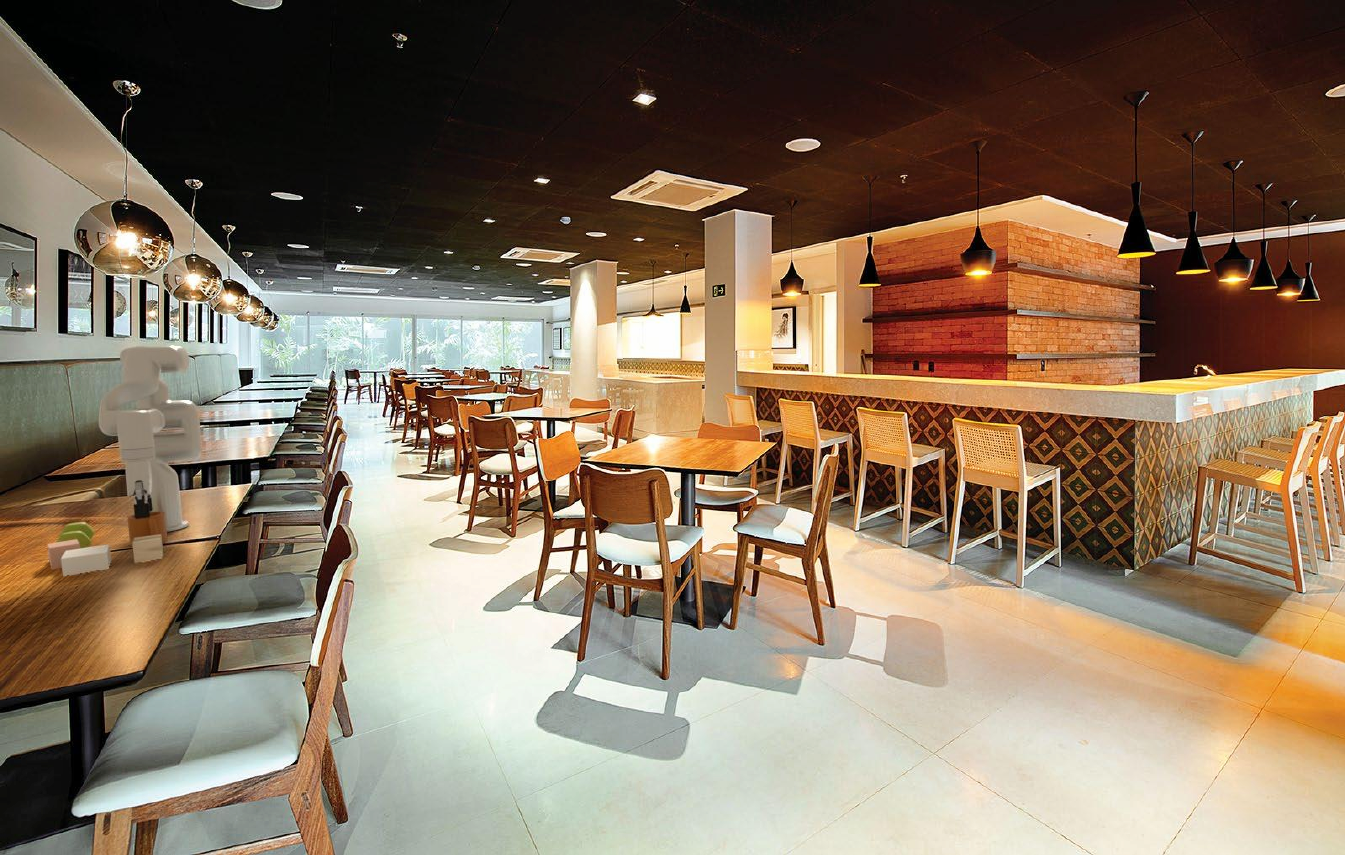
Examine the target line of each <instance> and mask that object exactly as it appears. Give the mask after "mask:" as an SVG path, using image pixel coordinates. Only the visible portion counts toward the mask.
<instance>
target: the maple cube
mask: <svg viewBox="0 0 1345 855" xmlns="http://www.w3.org/2000/svg"><path fill="white" fill-rule="evenodd" d="M132 545H133V547H132V551H133V561H134V564H135V563H136V562H142V561H146V560H155V561H157V560H156V559H161V558H162V556H163V557H164V548H163V546H164V545H163V543H162V537H161V534H159V535H152V536H145V537H137V538H134V540H133V543H132ZM162 559H163V558H162ZM142 563H143V562H142ZM136 564H137V563H136Z"/></svg>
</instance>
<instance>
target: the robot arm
mask: <svg viewBox="0 0 1345 855" xmlns="http://www.w3.org/2000/svg"><path fill="white" fill-rule="evenodd" d="M119 360H120V363H121V366H122V367H123V372H122V382H121V383H118V384H117V385H116V386H114V387H113V388H111V389H110V390H109V391H108V392H107V393H105V394H104V395H103V397H102V399H101V401H100V405H99V411H98V412H99V414H98V427H99V429H100V431H101V432H102V434H104V435H106V436H111V437H115V436H116V437H117V440H118V449H119V450H118V451H119V458H120V462H123V463H124V462H125V480H126V493H127V494H126V495H127V496H126V497H128V498H132V496H133V513H134V514H135V519H142V518H149V517H150V512H156V511H161V512H164V513H165V522H166V531H167V533H168V532H172V531H173V532H175V531H178V530H182V529H185V528H186V527H188V526H189V525H190V524H189V521H188V520H183V513H182V512H183V511H182V502H181V493H180V492H181V491H180V483H179V475H178V473H177V472H176V470H175V469H173V468H172V467H171V466H170V465H168V463H175V462H176V463H177V462H187V461H188V462H189V461H195V460H198V459H200V457H201V456H202V450H203V446H202V433H201V423H200V414H199V409H198V406H197V405H196V404H195V403H194V402H193V401H191V400H185V399H184V400H181V399H180V400H171V399H170V388H169V386H168V384H167V383H166V382H165V381H164V380H163V379H162V378H161V377H160V376H161V374H162V373H163V374H170V373H171V374H176V373H180V374H183V373H186V371H187V370H188V369H189V366H190V357H189V353H188V351H187V350H186V348H184V347H182V346H176V345H139V346H137V345H136V346H134V347H133V346H131V347H127V348H124V349H122V350H121V351H120V354H119ZM134 402H136V408H135V407H134V408H122V407H124V406H125V405H128V404H132V403H134ZM165 430H182V431H183V432H174V433H172V432H171V433H170V432H169V433H160V432H161V431H165ZM134 514H133V515H134Z"/></svg>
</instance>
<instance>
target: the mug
mask: <svg viewBox="0 0 1345 855" xmlns="http://www.w3.org/2000/svg"><path fill="white" fill-rule="evenodd" d="M126 520H127V526H128V528H127V529H128V536H129V543H130V545H129V546H130V547H131V548H133V545H132V543H133V540H134V538H137V537H145V536H152V535H159V534H161V537H162V544H164V543H165V541H166V542H168V532H167V531H166V522H165V513H164V512H161V511H156V512H150V517H149V518H142V519H135V514H131V515H129V516H127V519H126ZM163 542H164V543H163Z"/></svg>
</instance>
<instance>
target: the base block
mask: <svg viewBox="0 0 1345 855" xmlns="http://www.w3.org/2000/svg"><path fill="white" fill-rule="evenodd" d="M61 563H62V568H61V569H62V576H63V577H67V575H69V576H75V575H80V573H82V574H86V573H85V572H88V573H91V572H90V571H94V570H100V571H104V570H110V567H109V566H111V564H110V563H112V555H111V546H110V543H109V544H102V545H95V546H89V547H87V548H80V549H73V550H66V551H65V553H64V555H63V556H62V558H61ZM94 572H95V571H94Z"/></svg>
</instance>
